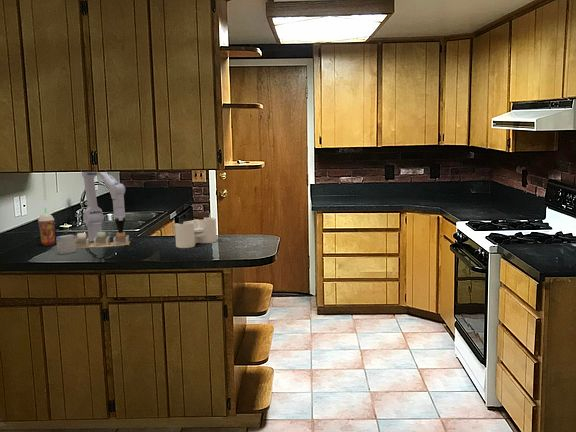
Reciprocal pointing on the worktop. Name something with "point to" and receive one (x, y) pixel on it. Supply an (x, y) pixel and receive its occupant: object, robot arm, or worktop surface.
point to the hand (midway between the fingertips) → (120, 232)
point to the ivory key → (81, 236)
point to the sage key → (101, 235)
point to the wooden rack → (102, 242)
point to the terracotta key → (120, 234)
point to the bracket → (195, 232)
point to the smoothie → (47, 228)
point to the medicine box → (66, 244)
